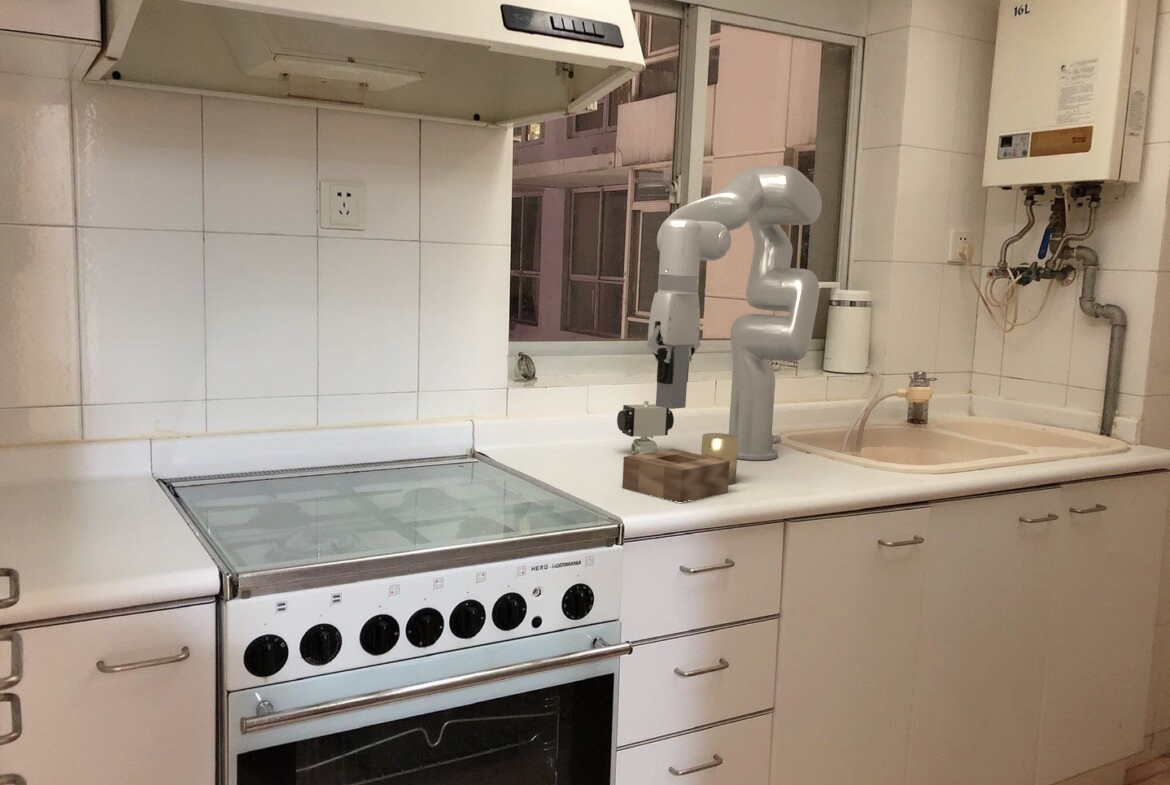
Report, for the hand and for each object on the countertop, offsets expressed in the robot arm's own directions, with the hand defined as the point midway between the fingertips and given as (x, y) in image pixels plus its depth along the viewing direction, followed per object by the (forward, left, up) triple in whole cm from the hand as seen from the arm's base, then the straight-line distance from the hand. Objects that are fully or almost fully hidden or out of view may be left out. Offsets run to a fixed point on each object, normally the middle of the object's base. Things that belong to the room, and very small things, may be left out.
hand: (672, 381), depth 186 cm
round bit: (-10, +4, -20) cm, 23 cm away
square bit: (0, 0, -5) cm, 5 cm away
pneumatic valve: (-17, -22, -20) cm, 34 cm away
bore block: (+3, +4, -20) cm, 21 cm away
